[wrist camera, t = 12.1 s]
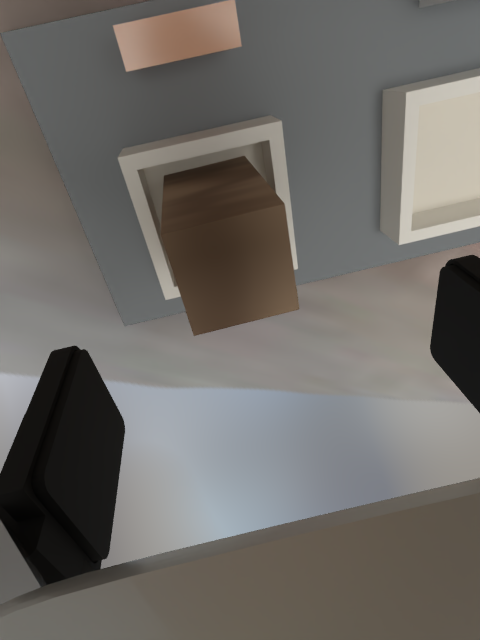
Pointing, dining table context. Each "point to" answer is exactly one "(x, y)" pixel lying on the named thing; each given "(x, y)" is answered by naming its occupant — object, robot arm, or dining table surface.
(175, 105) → the tag board
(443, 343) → the robot arm
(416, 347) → the dining table surface
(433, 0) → the pale grey tag
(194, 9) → the terracotta tag
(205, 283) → the walnut plug
